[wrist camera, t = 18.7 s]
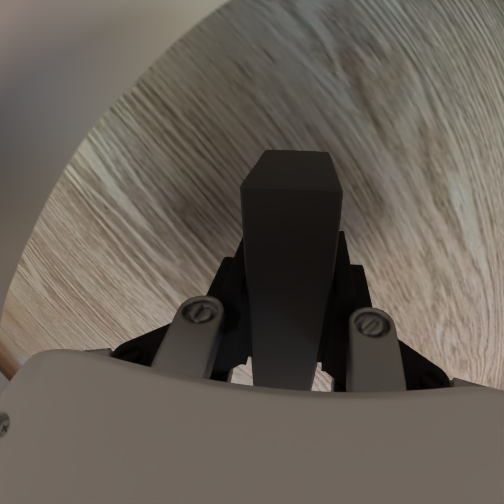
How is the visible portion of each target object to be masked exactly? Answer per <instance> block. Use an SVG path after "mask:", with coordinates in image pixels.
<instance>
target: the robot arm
mask: <svg viewBox="0 0 504 504" xmlns="http://www.w3.org/2000/svg"><path fill="white" fill-rule="evenodd" d="M248 356H249V357H253V356H252V340H251V324H250V309H249V295H248V294H247V288H246V273H245V257H244V241H243V237H242V240H241V242H240V244H239V247H238V249H237V251H236V254H235V256H234V257H224V259H223V261H222V263H221V265H220V267H219V269H218V271H217V273H216V276H215V278H214V280H213V282H212V284H211V286H210V288H209V291H208V293H207V295H206V296H196V297H192V298H190V299H188V300H186V301H185V302H184V303H182V304H181V306H180V307H179V308H178V310H177V312H176V314H175V316H174V319H173V321H172V323H170V324H167V325H165V326H163V327H160V328H158V329H156V330H153V331H151V332H149V333H146V334H144V335H142V336H139V337H137V338H134V339H132V340H130V341H127V342H125V343H123V344H121V345H120V346H119V347H117V348H116V349H115V351H112V349H111V348H107V349H96V350H84V351H81V350H72V349H53V350H46V351H42V352H39V353H37V354H35V355H33V356H32V357H31V358H30V359H28V360H27V361H26V362H25V364H24V365H23V366H22V367H21V368H20V369H19V371H18V372H17V373H16V374H15V376H14V377H13V378H12V380H11V381H10V382H9V384H8V385H7V387H6V389H5V390H4V391H3V393H2V395H1V396H0V504H504V391H503V390H499V389H495V388H490V387H486V386H482V385H479V384H475V383H472V382H468V381H465V380H461V379H458V378H453V380H449V378H448V376H447V375H446V373H445V372H444V371H443V370H442V369H440V368H439V367H438V366H436V365H435V364H433V363H432V362H430V361H429V360H428V359H426V358H425V357H423V356H422V355H420V354H419V353H417V352H416V351H415V350H413V349H412V348H410V347H409V346H407V345H406V344H405V343H403V342H402V341H400V340H399V339H398V337H397V332H396V328H395V324H394V321H393V319H392V318H391V317H390V316H389V314H387V313H386V312H384V311H383V310H380V309H377V308H372V303H371V299H370V294H369V289H368V285H367V281H366V277H365V272H364V268H363V266H362V265H352V264H350V259H349V254H348V249H347V244H346V239H345V235H344V231H339V237H338V246H337V253H336V261H335V268H334V275H333V282H332V288H331V294H330V298H329V300H328V306H327V311H326V317H325V323H324V328H323V333H322V338H321V343H320V348H319V353H318V358H317V362H322V370H321V371H325V372H327V373H328V374H329V375H330V376H331V377H332V382H331V392H321V391H302V390H289V389H277V388H267V387H258V386H250V385H242V384H235V383H230V382H231V378H232V374H233V368H234V367H236V366H238V365H240V364H244V365H246V363H247V359H248Z"/></svg>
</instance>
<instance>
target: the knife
mask: <svg viewBox="0 0 504 504" xmlns="http://www.w3.org/2000/svg"><path fill="white" fill-rule="evenodd" d="M240 193H241V209H242V225H243V241H244V257H245V273H246V288H247V294H248V295H249V309H250V324H251V340H252V356H253V357H251V360H252V374H253V386H258V387H267V388H277V389H289V390H302V391H311V388H312V384H313V380H314V376H315V371H316V367H317V358H318V353H319V348H320V343H321V338H322V333H323V328H324V323H325V317H326V311H327V306H328V300H329V298H330V294H331V288H332V282H333V275H334V268H335V261H336V253H337V246H338V237H339V229H340V219H341V210H342V199H343V190H342V187H341V184H340V182H339V179H338V176H337V173H336V171H335V168H334V165H333V163H332V160H331V157H330V155H329V153H328V152H317V151H295V150H266V151H265V152H264V153H263V154H262V156H261V157H260V159H259V160H258V161H257V163H256V164H255V166H254V167H253V169H252V170H251V171H250V173H249V174H248V176H247V177H246V179H245V180H244V182H243V183H242V184H241V187H240Z"/></svg>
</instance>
